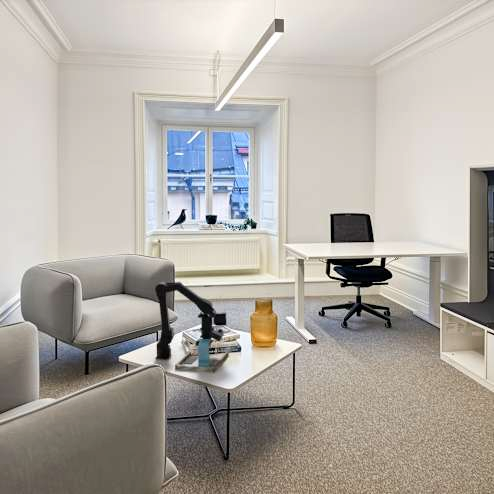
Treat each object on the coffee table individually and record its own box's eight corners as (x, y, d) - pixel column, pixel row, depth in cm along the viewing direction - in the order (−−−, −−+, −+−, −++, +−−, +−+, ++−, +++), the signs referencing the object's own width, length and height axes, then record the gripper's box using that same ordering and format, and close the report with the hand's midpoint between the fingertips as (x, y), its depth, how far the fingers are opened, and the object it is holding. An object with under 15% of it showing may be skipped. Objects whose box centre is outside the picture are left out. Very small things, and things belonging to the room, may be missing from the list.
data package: (207, 369, 229) (207, 345, 227) (198, 369, 229) (198, 345, 227) (209, 360, 241) (209, 338, 239) (200, 361, 241) (200, 338, 239)
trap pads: (183, 363, 237) (183, 362, 236) (189, 357, 245) (189, 356, 245) (216, 366, 233) (216, 365, 233) (221, 360, 241) (221, 359, 241)
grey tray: (175, 369, 229) (175, 365, 229) (192, 351, 254) (192, 348, 254) (214, 372, 225) (214, 368, 224) (228, 354, 250) (228, 351, 250)
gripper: (216, 331, 233) (216, 362, 235) (226, 321, 251) (226, 350, 253) (195, 330, 236) (195, 360, 237) (206, 320, 254) (206, 348, 255)
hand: (206, 354), depth 246 cm, fingers closed
